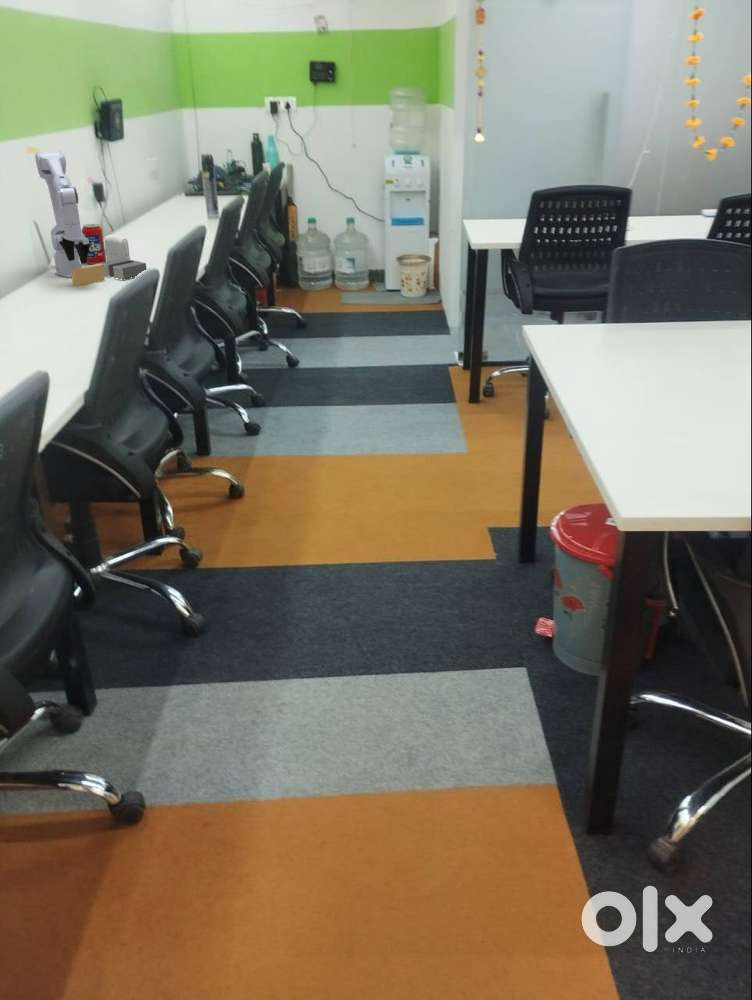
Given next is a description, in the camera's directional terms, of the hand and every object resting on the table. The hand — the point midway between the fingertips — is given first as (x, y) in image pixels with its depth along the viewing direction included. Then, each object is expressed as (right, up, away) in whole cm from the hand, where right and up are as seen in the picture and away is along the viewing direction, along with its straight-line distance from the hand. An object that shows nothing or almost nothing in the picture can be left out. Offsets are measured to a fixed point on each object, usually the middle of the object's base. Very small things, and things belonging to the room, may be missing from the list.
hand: (77, 261), depth 307 cm
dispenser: (+12, 0, +18) cm, 21 cm away
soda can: (-5, +9, +35) cm, 36 cm away
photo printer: (+6, +6, +30) cm, 31 cm away
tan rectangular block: (+2, -6, +6) cm, 9 cm away
